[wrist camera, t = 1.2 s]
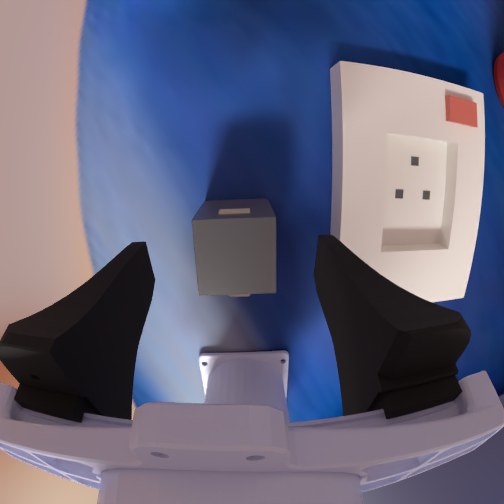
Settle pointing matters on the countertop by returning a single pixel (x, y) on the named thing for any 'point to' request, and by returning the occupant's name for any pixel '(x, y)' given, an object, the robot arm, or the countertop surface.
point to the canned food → (499, 76)
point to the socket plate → (407, 175)
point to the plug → (235, 247)
